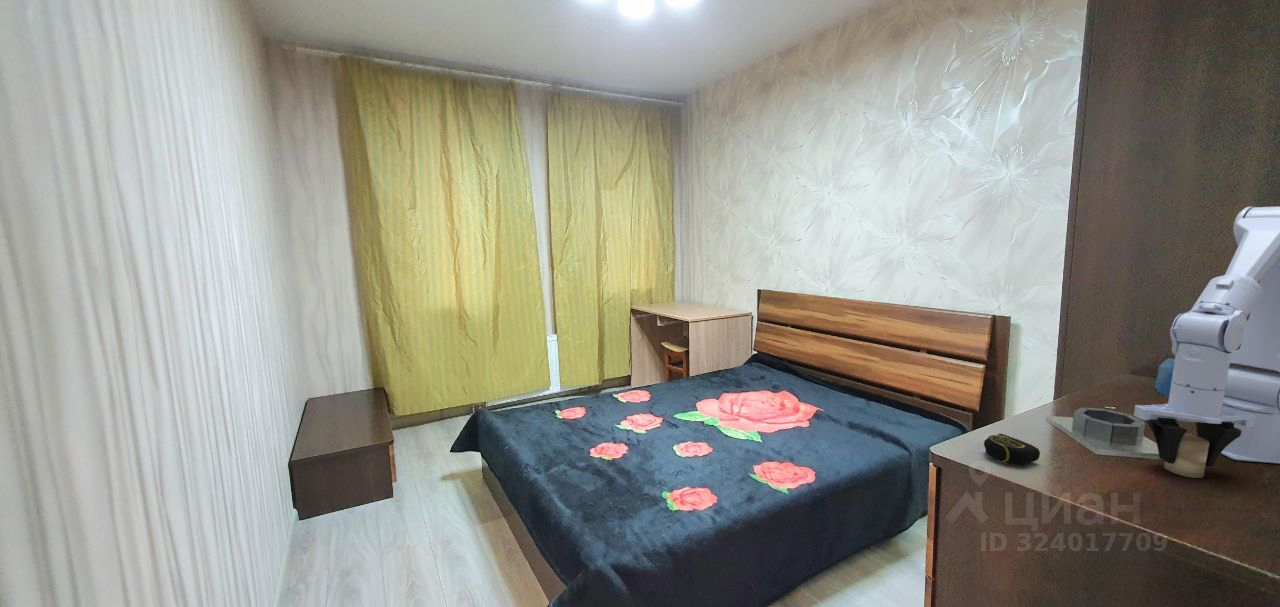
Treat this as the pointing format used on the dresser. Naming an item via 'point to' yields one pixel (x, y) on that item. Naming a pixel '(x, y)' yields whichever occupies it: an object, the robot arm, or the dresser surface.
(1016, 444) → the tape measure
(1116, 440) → the rosette socket
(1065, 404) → the dresser surface
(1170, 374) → the perfume bottle
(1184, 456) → the tan peg
